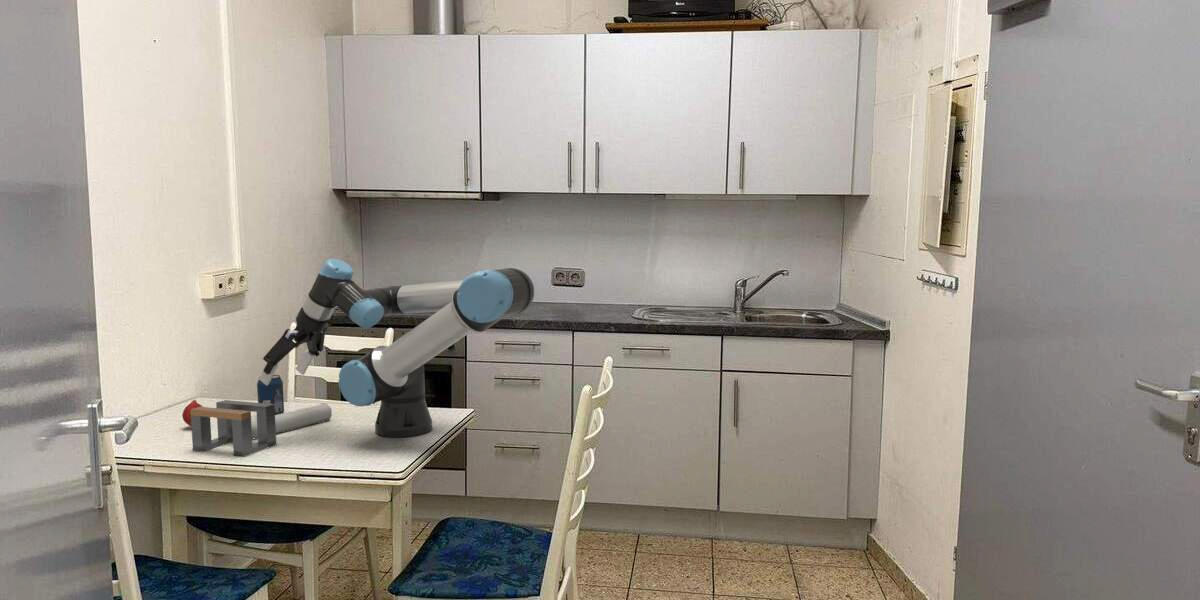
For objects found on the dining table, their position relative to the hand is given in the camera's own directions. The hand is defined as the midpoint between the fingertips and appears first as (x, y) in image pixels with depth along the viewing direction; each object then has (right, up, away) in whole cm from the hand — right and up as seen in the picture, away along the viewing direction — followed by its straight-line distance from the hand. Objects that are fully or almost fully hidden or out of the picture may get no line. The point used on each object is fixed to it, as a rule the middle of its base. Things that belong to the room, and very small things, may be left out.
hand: (282, 376), depth 211 cm
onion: (-27, -15, +8) cm, 32 cm away
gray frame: (-7, -17, -12) cm, 22 cm away
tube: (-1, -15, +6) cm, 16 cm away
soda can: (-11, -14, +20) cm, 27 cm away
